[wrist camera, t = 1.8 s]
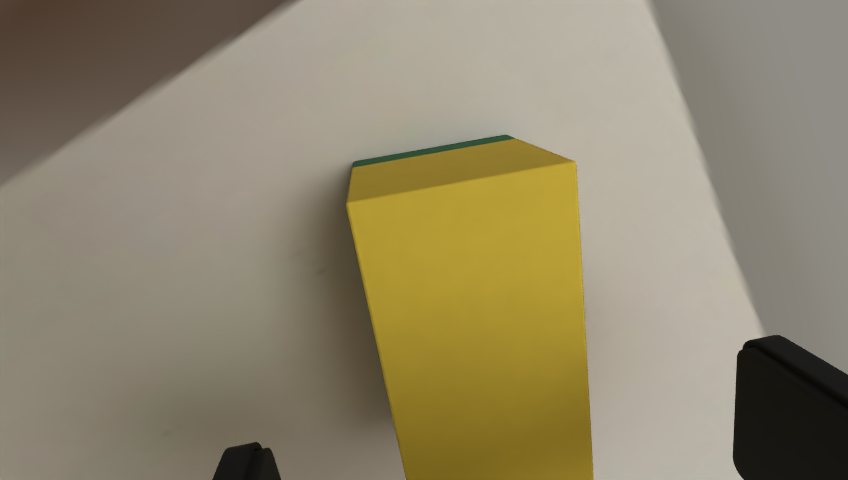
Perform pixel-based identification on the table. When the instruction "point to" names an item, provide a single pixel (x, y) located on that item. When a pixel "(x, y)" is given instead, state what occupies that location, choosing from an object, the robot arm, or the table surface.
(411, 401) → the sponge
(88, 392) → the table surface
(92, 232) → the table surface
